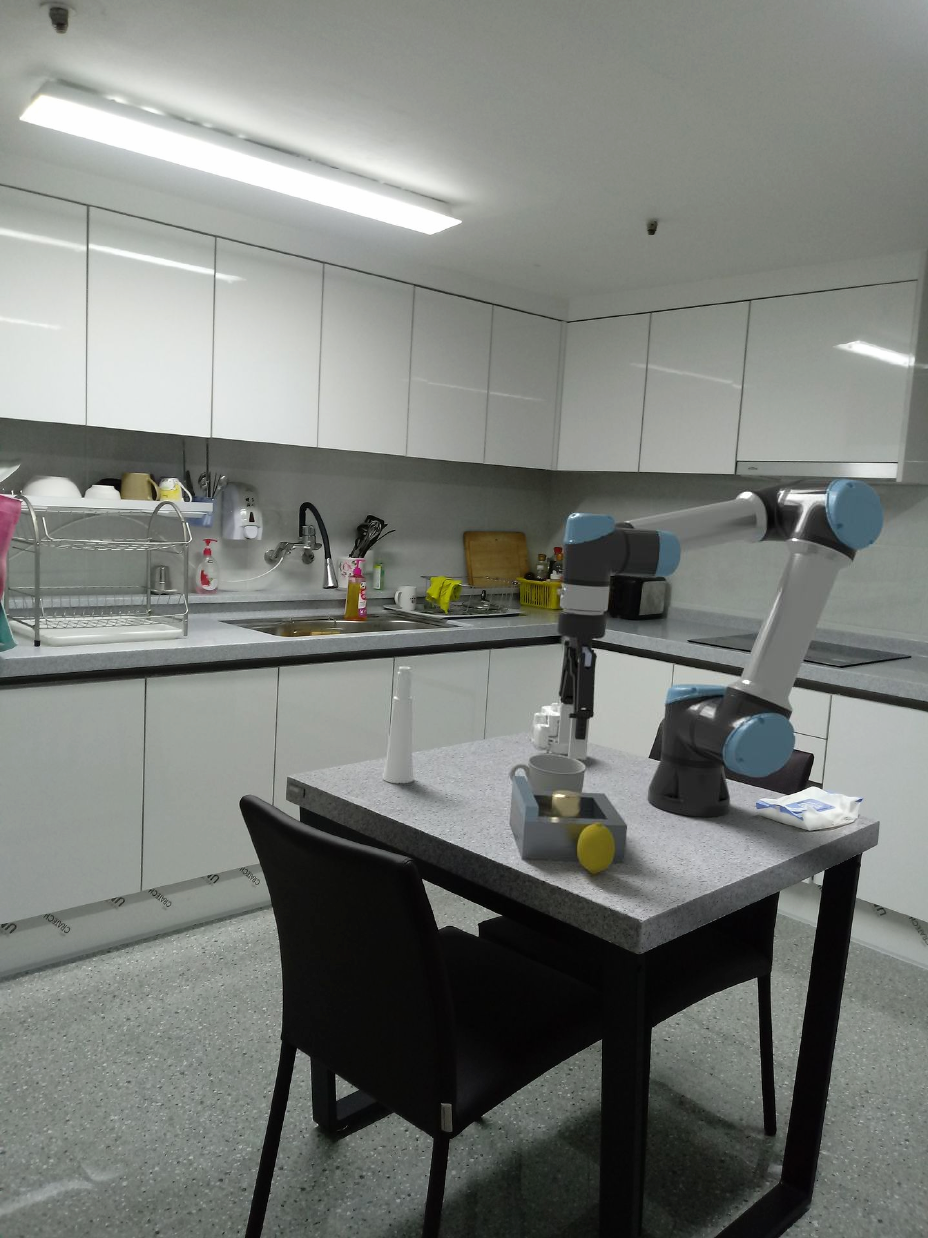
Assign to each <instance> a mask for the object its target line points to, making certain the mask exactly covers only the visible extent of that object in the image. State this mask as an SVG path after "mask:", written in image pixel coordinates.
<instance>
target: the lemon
mask: <svg viewBox="0 0 928 1238" xmlns="http://www.w3.org/2000/svg"><path fill="white" fill-rule="evenodd" d="M614 853H615V843H614V838H613V835H612V833H611V832H610V831H609V829H607V828H606V827H605V826H603V825H601V823H599V822H596V823H595V824H592V825H590V826H588V827H586V828H585V829H584V830H583V831H582V833H581V835H580V837H579V840H578V845H577V854H578V859H579V861H578V862H580V864H581V866H582V867H584V869H586V870H588V871H589V873H590V874H592V875H594V874H595V875H597V874H598V873H599V872H603V871H606V869H607V868H609V867H610V866H611V864H612V863H613V862H612V860H613V857H614Z"/></svg>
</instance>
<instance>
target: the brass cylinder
mask: <svg viewBox="0 0 928 1238" xmlns="http://www.w3.org/2000/svg"><path fill="white" fill-rule="evenodd" d="M580 805H581V795H580V794H579V793H576V792H573V791H566V790H560V791H555V792H553V797H552V810H551V817H559V818H579V817H580Z"/></svg>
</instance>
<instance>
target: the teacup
mask: <svg viewBox="0 0 928 1238" xmlns="http://www.w3.org/2000/svg"><path fill="white" fill-rule="evenodd" d="M586 768H587V767H586V764H584V763H583V762H582V761H580V759H569V758H568V756H567V755H562V754H560V755H558V754H555V753H554V754H552V753H549V754H546V753H545V754H544V753H542V754H535V755H531V756H530V757H528V759H527V764H526V763H524V762H520V761H519V762H515V763H514V764H512V765H511V767H510V769H509V772H508V773H509V774H508V775H509V779H510V780H511V782H513V776H516V771H517V770H518V769H522V770H523V771H524V773H525V774H524V776H525V778H526V780H527V783H528V785H529V787H530V789H531V790H534V791H560V790H566V791H573V792H580V793H583V787H584V779H585V773H586Z"/></svg>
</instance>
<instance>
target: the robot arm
mask: <svg viewBox="0 0 928 1238" xmlns="http://www.w3.org/2000/svg"><path fill="white" fill-rule="evenodd" d="M615 520H616V519H615V517H614V516H613V515H610V514H596V513H583V512H582V513H581V512H573V513H571V514H570V515H568V517H567V520H566V525H565V533H564V538H563V555H562V556H563V557H562V571H561V572H562V573H561V588H558V589H557V591H556V594H557V595H559V596H560V597H559V598H560V600H559V601H560V602H559V607H560V608H561V609H562V610H560V611H559V612H558V621H557V633H558V634H559V635H561V636H564V637H567V638H569V640H566V639H565V640H564V642H563V645H564V648H563V659H562V667H561V668H562V669H561V676H560V683H559V690H558V696H559V697H560V699H559V700H560V706H561V709H560V721H559V734H558V743H563V744H569V752H568V756H567V757H568V758H569V759H576V760H587V752H588V751H587V750H588V743H589V741H588V740H589V739H588V738H589V729H590V719H592V718H594V716H595V715H594V714H595V713H594V708H595V707H594V706H595V702H594V701H595V678H596V676H595V675H596V664H597V658H598V655H597V653H596V652H595V649H593V648H592V644H593V643H592V640H593V639H602V638H604V637H605V635H606V629H607V616H606V614H604V612H607V611H608V607H609V597H610V596H609V594H610V581H611V576H628V577H629V576H630V577H650V578H654V579H656V578H659V577H661V578H663V577H669V576H671V575H673V574H674V573H675V572H676V571H677V569H678V567H679V565H680V562H681V554H682V553H686V552H687V553H688V552H692V551H696V550H701V549H705V548H711V547H714V546H715V547H716V546H720V545H724V544H730V543H734V542H739V541H744V542H745V543H748V544H756V543H762V542H785V546H786V548H787V549H788V552H789V557H788V559H787V561H786V564H785V567H784V568H783V569H784V570H783V571H782V573H781V577H780V579H779V580H778V584H777V587H776V589H775V592H774V593H773V597H772V598H771V602H770V603H769V605H768V609H767V611H766V614H765V617H764V619H763V622H762V624H761V627H760V629H759V631H758V634H757V636H756V638H755V641H754V643H753V646H752V649H751V651H750V654H749V655H748V658H747V662H746V663H745V666H744V669H743V670H742V673H741V676H740V678H739V679H738V680H737V681H734V682H732V683H729V684H728V685H727V686H726V685H716V684H701V683H700V684H698V683H697V684H695V683H689V684H688V683H687V684H686V683H685V684H683V683H682V684H673V685H671V686H670V687H669V688H668V690H667V692H666V693H667V694H666V699H665V703H664V707H665V709H664V719H663V721H664V722H663V729H662V730H663V732H662V742H661V755H660V761H659V763H658V766H657V768H656V770H655V772H654V774H653V776H652V779H651V781H650V784H649V786H648V791H647V801H648V802H649V803H650V804H651V805H652V806H655V807H656V808H657V809H658V808H659V809H661V810H664V811H666V812H670V813H674V814H678V815H683V816H690V817H700V818H701V817H705V818H707V817H709V818H710V817H719V816H723V815H725V814H727V813H729V811H730V805H731V804H730V803H731V796H730V792H729V791H730V790H729V787H728V783H727V778H726V774H725V769H724V767H725V768H727V769H729V770H730V771H732V772H735V773H737V774H739V775H745V776H747V777H751V778H765V777H768V776H770V775H771V774H773V773H774V774H775V773H776V772H777V771H779V770H780V769H781V768H783V767H784V765H785V764H787V762H788V760H789V759H790V758H791V756H792V754H793V751H794V749H795V744H796V736H795V735H794V733H795V728H794V726H793V724H792V723H791V722H790V719H791V716H792V713H793V712H794V709H793V707H792V705H791V702H790V700H789V697H790V694H791V691H792V689H793V687H794V683H795V681H796V679H797V676H798V674H799V672H800V669H801V667H802V664H803V662H804V659H805V656H806V655H807V651H808V650H809V647H810V645H811V643H812V640H813V637H814V635H815V632H816V629H817V627H818V625H819V622H820V620H821V617H822V615H823V612H824V609H825V607H826V605H827V602H828V600H829V597H830V594H831V592H832V589H833V587H834V585H835V581H836V580H837V577H838V576H839V575H838V574H839V572H840V571H841V570H843V569H846V568H848V567H850V566H852V565H853V563H854V560H855V557H856V554H857V552H858V550H859V551H860V550H864V549H866V548H869V547H870V545H873V544H874V543H875V542H876V541H877V540H878V539H879V537H880V534H881V532H882V530H883V525H884V508H883V505H882V504H881V498H880V497H879V495H878V493H877V491H876V490H875V489H874V488H873V487H872V486H871V485H869V484H868V483H866V482H864V481H861V480H857V479H856V480H855V479H854V480H853V479H848V478H844V477H843V478H837V479H803V478H802V479H792V480H789V481H788V480H787V481H784V482H781V483H777V484H774V485H769V486H765V487H761V488H759V489H758V488H757V489H753V490H749V491H744V492H741V493H739V494H738V495H737V496H736V498H735V499H733V500H726V501H721V502H717V503H711V504H707V505H701V506H697V507H691V508H686V509H681V510H675V511H672V512H671V511H670V512H667V513H666V512H665V513H661V514H657V515H650V516H646V517H645V516H644V517H640V518H639V517H638V518H636V519H635V518H633V519H630V520H626V521H620V522H615Z"/></svg>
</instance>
